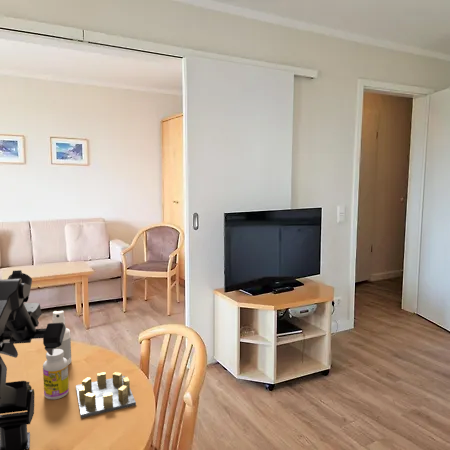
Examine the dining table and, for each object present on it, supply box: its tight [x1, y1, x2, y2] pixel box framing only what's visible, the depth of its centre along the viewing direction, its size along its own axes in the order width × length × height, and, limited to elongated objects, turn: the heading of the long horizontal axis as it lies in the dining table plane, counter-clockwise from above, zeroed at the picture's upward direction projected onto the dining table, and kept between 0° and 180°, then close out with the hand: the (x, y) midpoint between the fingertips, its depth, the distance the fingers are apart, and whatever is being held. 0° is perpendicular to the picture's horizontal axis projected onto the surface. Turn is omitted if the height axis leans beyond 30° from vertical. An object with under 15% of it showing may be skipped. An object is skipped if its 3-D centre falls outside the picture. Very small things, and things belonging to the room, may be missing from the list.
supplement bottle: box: [42, 349, 70, 400], centre depth 117 cm, size 7×7×13 cm
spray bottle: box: [51, 310, 73, 366], centre depth 136 cm, size 7×7×18 cm
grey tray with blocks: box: [75, 371, 137, 419], centre depth 117 cm, size 16×14×4 cm
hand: (34, 354), depth 109 cm, fingers open, 9 cm apart
